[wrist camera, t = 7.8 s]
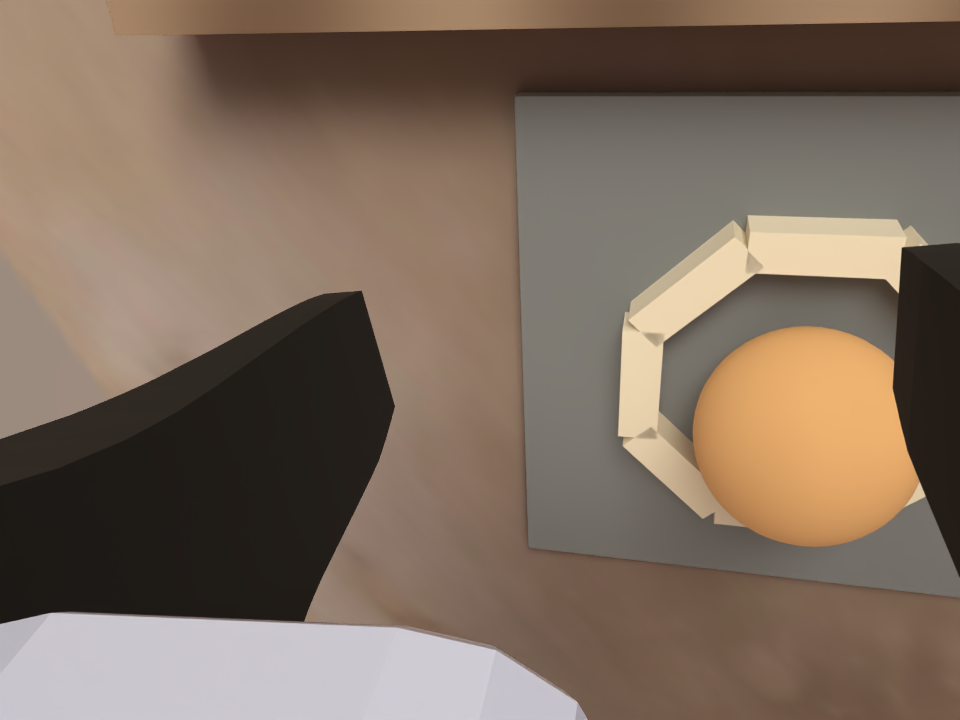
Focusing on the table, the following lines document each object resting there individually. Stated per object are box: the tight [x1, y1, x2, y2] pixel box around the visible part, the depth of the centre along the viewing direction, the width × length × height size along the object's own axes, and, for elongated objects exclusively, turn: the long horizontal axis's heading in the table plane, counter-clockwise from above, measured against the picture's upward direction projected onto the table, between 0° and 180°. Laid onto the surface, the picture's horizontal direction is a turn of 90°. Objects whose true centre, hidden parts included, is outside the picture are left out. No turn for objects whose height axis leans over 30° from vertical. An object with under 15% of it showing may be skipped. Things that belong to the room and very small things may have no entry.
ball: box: [693, 326, 920, 547], centre depth 19 cm, size 5×5×5 cm
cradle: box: [514, 92, 960, 598], centre depth 21 cm, size 14×14×1 cm
